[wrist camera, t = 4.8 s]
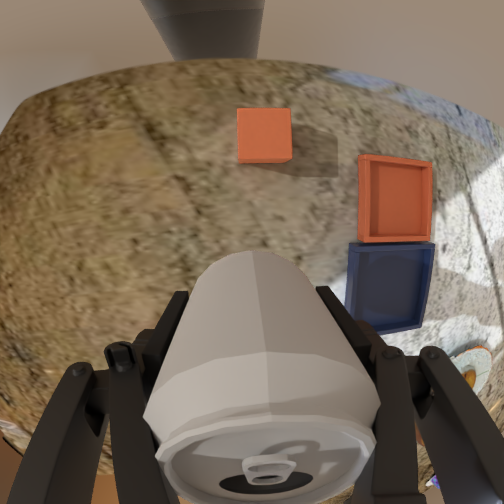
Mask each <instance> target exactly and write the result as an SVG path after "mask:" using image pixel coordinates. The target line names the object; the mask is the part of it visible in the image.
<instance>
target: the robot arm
mask: <svg viewBox="0 0 504 504" xmlns="http://www.w3.org/2000/svg"><path fill="white" fill-rule="evenodd" d="M316 292H317V293H318V295H319V296H320V298H321V299H322V301H323V302H324V304H325V306H326V307H327V309H328V310H329V312H330V313H331V315H332V317H333V318H334V320H335V321H336V323H337V324H338V326H339V328H340V329H341V331H342V332H343V334H344V336H345V337H346V339H347V340H348V342H349V344H350V345H351V347H352V348H353V350H354V352H355V353H356V355H357V357H358V358H359V360H360V362H361V363H362V365H363V366H364V368H365V370H366V371H367V373H368V375H369V376H370V378H371V380H372V381H373V383H374V385H375V388H376V391H377V394H378V396H379V399H380V402H381V405H380V407H379V408H378V410H377V413H376V418H375V422H374V425H373V429H372V432H373V434H374V437H375V439H376V442H377V443H376V445H375V448H374V450H373V452H372V454H371V456H370V457H369V459H368V461H367V463H366V464H365V466H364V468H363V470H362V472H361V474H360V476H359V477H358V479H357V481H356V482H355V484H354V490H353V495H352V500H351V504H427V503H426V497H425V495H424V494H422V493H419V491H418V461H417V443H416V431H415V423H416V425H417V428H418V430H419V432H420V435H421V437H422V440H423V443H424V445H425V448H426V450H427V453H428V455H429V458H430V461H431V464H432V466H433V469H434V472H435V475H436V478H437V481H438V484H439V487H440V489H441V492H442V496H443V499H444V502H445V504H504V438H503V436H502V434H501V433H500V431H499V429H498V428H497V426H496V424H495V423H494V421H493V420H492V418H491V416H490V415H489V413H488V412H487V410H486V409H485V407H484V406H483V404H482V403H481V401H480V400H479V398H478V397H477V395H476V394H475V392H474V391H473V390H472V388H471V387H470V385H469V384H468V383H467V381H466V380H465V378H464V377H463V376H462V374H461V373H460V371H459V370H458V369H457V367H456V366H455V365H454V363H453V362H452V361H451V359H450V358H449V357H448V356H447V354H446V353H445V352H444V351H443V350H442V349H440V348H438V347H436V346H426V347H423V348H422V349H421V351H420V354H419V356H405V355H404V353H403V351H402V350H400V349H399V348H397V347H394V346H388V345H387V344H386V343H385V342H384V340H383V339H382V338H381V337H380V336H379V334H378V333H377V332H376V331H375V330H374V328H373V327H372V326H371V325H370V324H369V323H368V322H366V321H364V320H356V321H355V320H354V319H353V318H352V316H351V315H350V314H349V312H348V311H347V310H346V309H345V307H344V306H343V305H342V303H341V302H340V301H339V299H338V298H337V297H336V296H335V294H334V293H333V292H332V290H331V289H330V288H329V287H328V286H316ZM188 300H189V295H188V291H176V292H175V293H174V295H173V297H172V299H171V300H170V302H169V304H168V306H167V307H166V309H165V311H164V313H163V315H162V316H161V318H160V320H159V322H158V324H157V326H156V327H155V329H144V330H143V331H142V332H140V333H139V334H138V335H137V337H136V339H135V340H134V342H133V343H132V344H131V343H129V342H125V341H120V342H115V343H112V344H110V345H108V346H107V347H106V348H105V350H104V354H105V357H106V360H107V363H108V366H109V369H107V370H98V371H94V370H93V367H92V365H91V364H89V363H87V362H77V363H74V364H72V365H71V366H69V367H68V368H67V370H66V372H65V373H64V375H63V377H62V379H61V380H60V382H59V384H58V386H57V388H56V389H55V391H54V393H53V395H52V397H51V399H50V401H49V403H48V405H47V407H46V409H45V411H44V413H43V415H42V417H41V419H40V421H39V423H38V425H37V427H36V429H35V431H34V433H33V436H32V438H31V440H30V442H29V445H28V447H27V449H26V452H25V454H24V456H23V459H22V461H21V464H20V466H19V469H18V472H17V474H16V477H15V480H14V483H13V485H12V488H11V491H10V495H9V498H8V501H7V504H91V499H92V493H93V488H94V483H95V477H96V473H97V468H98V463H99V459H100V454H101V450H102V446H103V442H104V438H105V434H106V430H107V426H108V422H109V419H110V435H111V447H112V457H113V466H114V474H115V481H116V486H117V493H118V499H119V504H180V502H179V499H178V496H177V494H176V493H175V491H174V489H173V488H172V486H171V484H170V482H169V481H168V479H167V477H166V476H165V474H164V472H163V470H162V469H161V467H160V465H159V463H158V461H157V458H155V455H156V453H157V451H158V449H157V446H156V444H155V441H154V439H153V436H152V433H151V430H150V427H149V424H148V423H147V422H146V421H145V419H144V418H143V415H144V412H145V409H146V407H147V404H148V401H149V399H150V396H151V393H152V391H153V388H154V385H155V383H156V380H157V377H158V375H159V372H160V370H161V367H162V364H163V362H164V359H165V357H166V354H167V352H168V349H169V347H170V344H171V342H172V339H173V337H174V334H175V332H176V329H177V327H178V324H179V322H180V320H181V317H182V315H183V312H184V310H185V308H186V305H187V303H188ZM433 391H434V392H433Z"/></svg>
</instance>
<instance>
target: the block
mask: <svg viewBox="0 0 504 504" xmlns="http://www.w3.org/2000/svg"><path fill="white" fill-rule="evenodd" d="M237 130H238V160H239V164H240V163H285V162H287V161H288V160H290V159H292V131H291V110H290V108H237Z"/></svg>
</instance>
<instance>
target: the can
mask: <svg viewBox="0 0 504 504" xmlns="http://www.w3.org/2000/svg"><path fill="white" fill-rule="evenodd" d="M380 405H381V402H380V399H379V396H378V394H377V391H376V388H375V385H374V383H373V381H372V380H371V378H370V376H369V375H368V373H367V371H366V370H365V368H364V366H363V365H362V363H361V362H360V360H359V358H358V357H357V355H356V353H355V352H354V350H353V348H352V347H351V345H350V344H349V342H348V340H347V339H346V337H345V336H344V334H343V332H342V331H341V329H340V328H339V326H338V324H337V323H336V321H335V320H334V318H333V317H332V315H331V313H330V312H329V310H328V309H327V307H326V306H325V304H324V302H323V301H322V299H321V298H320V296H319V295H318V293H317V292H316V290H315V289H314V287H313V285H312V284H311V282H310V281H309V279H308V278H307V276H306V275H305V274H304V273H303V272H302V271H301V270H300V269H299V268H298V267H297V266H296V265H295V264H294V263H293V262H291V261H289V260H287V259H285V258H283V257H281V256H279V255H277V254H274V253H270V252H262V251H254V250H250V251H244V252H239V253H233V254H229V255H228V256H226V257H224V258H222V259H220V260H218V261H216V262H214V263H213V264H211V265H210V266H209V267H208V268H207V269H206V271H205V272H204V273H203V274H202V275H201V276H200V277H199V278H198V280H197V282H196V284H195V287H194V289H193V291H192V293H191V296H190V298H189V300H188V303H187V305H186V308H185V310H184V312H183V315H182V317H181V320H180V322H179V324H178V327H177V329H176V332H175V334H174V337H173V339H172V342H171V344H170V347H169V349H168V352H167V354H166V357H165V359H164V362H163V364H162V367H161V370H160V372H159V375H158V377H157V380H156V383H155V385H154V388H153V391H152V393H151V396H150V399H149V401H148V404H147V407H146V409H145V412H144V415H143V418H144V419H145V421H146V422H147V423H148V424H149V427H150V430H151V433H152V436H153V439H154V441H155V444H156V446H157V449H158V451H157V453H156V455H155V458H157V461H158V463H159V465H160V467H161V469H162V470H163V472H164V474H165V476H166V477H167V479H168V481H169V482H170V484H171V486H172V488H173V489H174V491H175V493H176V494H177V495H178V496H180V497H182V498H184V499H185V500H187V501H189V502H191V503H194V504H319V503H321V502H323V501H325V500H328V499H330V498H332V497H334V496H336V495H338V494H340V493H342V492H344V491H345V490H346V489H348V488H349V487H351V486H352V485H354V484H355V482H356V481H357V479H358V477H359V476H360V474H361V472H362V470H363V468H364V466H365V464H366V463H367V461H368V459H369V457H370V456H371V454H372V452H373V450H374V448H375V445H376V443H377V442H376V439H375V437H374V434H373V432H372V429H373V425H374V422H375V418H376V413H377V410H378V408H379V407H380Z"/></svg>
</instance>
